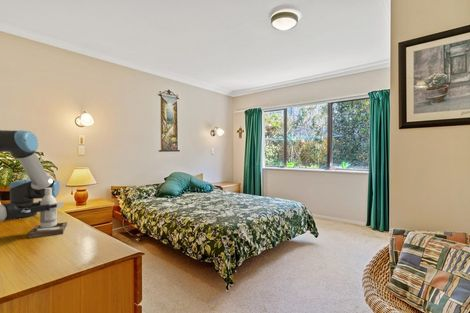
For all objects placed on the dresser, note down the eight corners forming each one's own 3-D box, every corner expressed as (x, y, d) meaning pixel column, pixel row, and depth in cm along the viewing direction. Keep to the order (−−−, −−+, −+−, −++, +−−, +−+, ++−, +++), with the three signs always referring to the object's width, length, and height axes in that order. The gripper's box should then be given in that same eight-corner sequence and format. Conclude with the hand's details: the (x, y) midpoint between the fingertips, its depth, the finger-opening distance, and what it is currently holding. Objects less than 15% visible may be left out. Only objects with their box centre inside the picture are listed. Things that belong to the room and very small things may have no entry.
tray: (35, 229, 134) (35, 225, 134) (67, 226, 140) (66, 222, 140) (28, 238, 121) (28, 233, 121) (63, 233, 128) (63, 229, 128)
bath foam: (43, 224, 133) (43, 187, 132) (58, 223, 135) (58, 186, 134) (37, 228, 126) (37, 189, 125) (54, 227, 128) (53, 188, 128)
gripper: (-5, 217, 120) (50, 208, 140) (12, 224, 110) (68, 212, 129) (-5, 202, 120) (50, 194, 139) (12, 207, 109) (68, 198, 129)
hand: (59, 203), depth 134 cm, fingers closed on bath foam, 7 cm apart
